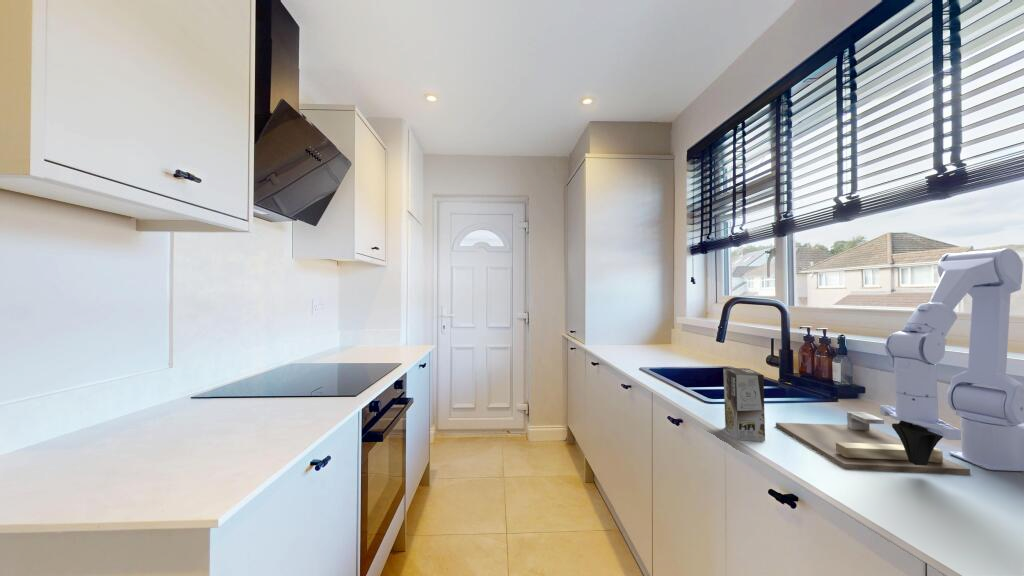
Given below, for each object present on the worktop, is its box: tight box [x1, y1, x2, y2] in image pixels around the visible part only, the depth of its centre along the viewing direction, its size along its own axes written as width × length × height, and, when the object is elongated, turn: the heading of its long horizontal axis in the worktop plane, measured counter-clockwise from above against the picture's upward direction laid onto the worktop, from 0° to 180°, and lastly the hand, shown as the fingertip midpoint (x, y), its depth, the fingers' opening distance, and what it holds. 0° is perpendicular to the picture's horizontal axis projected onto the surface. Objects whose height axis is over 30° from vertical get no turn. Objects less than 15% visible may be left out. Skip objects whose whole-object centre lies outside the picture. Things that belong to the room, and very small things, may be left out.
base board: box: [775, 411, 971, 475], centre depth 87 cm, size 22×25×5 cm
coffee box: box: [723, 367, 766, 442], centre depth 96 cm, size 9×6×16 cm
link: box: [836, 442, 944, 463], centre depth 79 cm, size 18×4×4 cm, turn 82°
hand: (918, 463), depth 73 cm, fingers closed
